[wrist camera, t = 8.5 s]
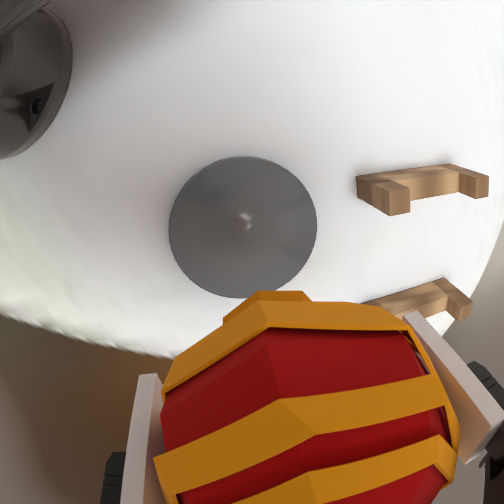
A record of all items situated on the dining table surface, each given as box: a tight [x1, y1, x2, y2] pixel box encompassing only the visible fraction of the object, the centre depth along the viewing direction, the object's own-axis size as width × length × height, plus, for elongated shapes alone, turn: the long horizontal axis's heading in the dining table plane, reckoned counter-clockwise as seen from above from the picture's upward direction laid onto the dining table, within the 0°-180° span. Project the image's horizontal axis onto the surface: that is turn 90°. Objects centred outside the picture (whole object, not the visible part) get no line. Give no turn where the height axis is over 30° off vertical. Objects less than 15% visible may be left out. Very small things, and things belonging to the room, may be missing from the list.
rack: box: [356, 164, 489, 332], centre depth 28 cm, size 12×16×6 cm
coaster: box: [169, 157, 317, 298], centre depth 28 cm, size 13×13×1 cm
